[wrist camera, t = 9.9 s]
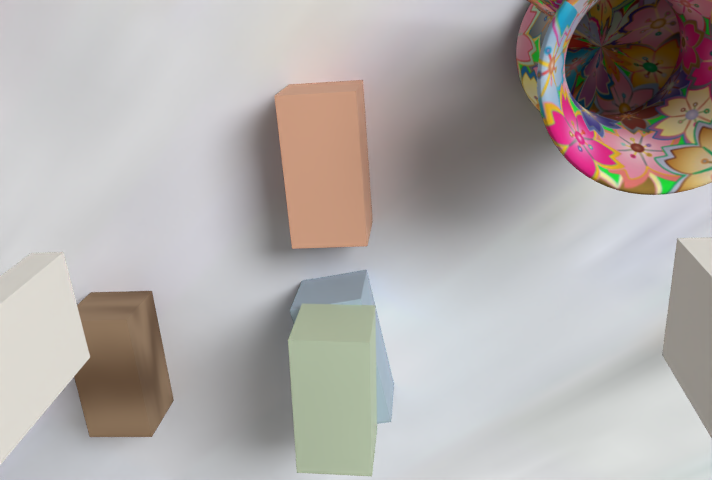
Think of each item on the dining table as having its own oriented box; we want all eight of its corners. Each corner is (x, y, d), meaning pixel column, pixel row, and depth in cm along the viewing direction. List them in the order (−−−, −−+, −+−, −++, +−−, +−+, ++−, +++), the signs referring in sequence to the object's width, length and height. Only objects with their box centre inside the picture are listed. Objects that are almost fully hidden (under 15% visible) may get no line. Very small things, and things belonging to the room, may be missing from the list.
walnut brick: (92, 291, 42) (60, 321, 38) (153, 289, 42) (126, 319, 38) (117, 399, 45) (89, 436, 41) (174, 398, 44) (151, 436, 41)
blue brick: (302, 279, 40) (289, 310, 37) (366, 269, 40) (360, 299, 36) (333, 391, 43) (324, 430, 39) (394, 383, 42) (391, 421, 39)
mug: (737, 14, 33) (872, 27, 23) (613, 168, 36) (684, 239, 26) (536, -128, 31) (587, -178, 22) (426, 46, 35) (426, 73, 25)
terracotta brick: (289, 84, 36) (274, 95, 33) (363, 79, 36) (356, 90, 32) (304, 223, 39) (292, 248, 35) (372, 220, 39) (367, 246, 35)
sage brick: (376, 428, 39) (371, 476, 35) (309, 426, 39) (296, 472, 36) (375, 305, 36) (369, 342, 32) (302, 303, 36) (287, 340, 33)
